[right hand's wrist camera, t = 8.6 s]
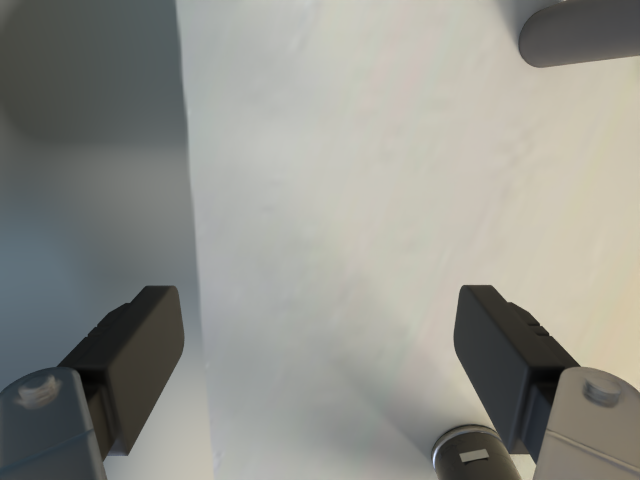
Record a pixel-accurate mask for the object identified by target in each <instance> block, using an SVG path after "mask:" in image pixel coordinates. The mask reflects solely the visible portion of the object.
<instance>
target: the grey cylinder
mask: <svg viewBox="0 0 640 480" xmlns="http://www.w3.org/2000/svg"><path fill="white" fill-rule="evenodd" d="M519 49H520V53H521V55H522V57H523V59H524V60H525V61H526V62H527V63H528V64H530V65H531V66H534V67H539V68H543V67H551V66H559V65H567V64H575V63H583V62H591V61H600V60H608V59H616V58H624V57H632V56H640V0H566V1H564V2H561V3H558V4H556V5H553V6H551V7H548V8H545V9H543V10H540V11H538V12H537V13H535V14H534V15H533V16H531V17H530V18H529V20H528V21H527V22H526V23H525V25H524V27H523V29H522V31H521V34H520V38H519Z"/></svg>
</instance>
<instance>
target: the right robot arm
mask: <svg viewBox="0 0 640 480" xmlns="http://www.w3.org/2000/svg"><path fill="white" fill-rule="evenodd" d="M183 347H184V329H183V322H182V315H181V308H180V301H179V294H178V290H177V288H176V287H175V286H145V287H144V288H143V289H142V291H141V292H140V293H139V294H138V295H137V296H136V297H135V298H134V299H133V300H132V301H131V303H125V304H123V305H122V306H120V307H118V308H117V309H115V310H113V311H111V312H109V313H108V314H107V315H106V316H105V317H104V318H103V319H102V320H101V321H100V322H99V323H98V325H97V327H95V328H94V329H93V330H92V331H91V332H90V333H89V334H88V337H85V338H84V339H83V340H82V341H81V342H80V343H79V344H78V345H77V346H76V347H75V348H74V349H73V350H72V351H71V352H70V353H69V354H68V355H67V356H66V357H65V358H64V359H63V361H61V363H60V364H59V365H58V366H57V367H52V368H46V369H42V370H39V371H36V372H33V373H30V374H28V375H26V376H23V377H21V378H20V379H18V380H16V381H14V382H13V383H11V384H10V385H9V386H7V387H6V388H5V389H4V390H3V391H2V392H1V393H0V480H107V476H106V473H105V469H104V465H103V461H104V460H105V458H106V456H128V455H129V453H130V451H131V449H132V447H133V445H134V443H135V441H136V440H137V438H138V436H139V434H140V432H141V430H142V428H143V426H144V424H145V423H146V421H147V419H148V417H149V415H150V413H151V411H152V410H153V408H154V406H155V404H156V402H157V400H158V398H159V396H160V395H161V393H162V391H163V389H164V387H165V385H166V383H167V381H168V380H169V378H170V376H171V374H172V372H173V370H174V368H175V366H176V365H177V363H178V361H179V359H180V357H181V355H182V352H183ZM454 347H455V351H456V354H457V356H458V358H459V360H460V362H461V364H462V366H463V368H464V370H465V372H466V374H467V375H468V377H469V379H470V381H471V383H472V385H473V387H474V389H475V391H476V393H477V394H478V396H479V398H480V400H481V402H482V404H483V406H484V408H485V410H486V412H487V413H488V415H489V417H490V419H491V421H492V423H493V425H494V427H495V429H496V431H497V432H498V434H499V435H498V434H497V433H496V432H494V431H493V430H491V429H489V428H486V427H482V426H463V427H459V428H456V429H453V430H451V431H449V432H448V433H446V434H444V435H443V436H442V437H441V438H440V439H439V440H438V441H437V442H436V444H435V445H434V447H433V450H432V455H431V458H432V463H433V466H434V469H435V471H436V473H437V476H438V479H439V480H522V478H521V477H520V475H519V473H518V471H517V469H516V467H515V465H514V463H513V461H512V459H511V457H510V455H509V454H530V455H531V457H532V459H533V461H534V462H535V464H536V469H535V473H534V476H533V480H640V393H639V392H638V391H637V390H636V389H635V388H634V387H633V386H632V385H630V384H629V383H627V382H626V381H624V380H622V379H620V378H619V377H617V376H614V375H612V374H610V373H607V372H604V371H601V370H598V369H594V368H588V367H581V366H580V365H579V364H578V363H577V362H576V361H575V360H574V359H573V358H572V357H571V356H570V355H569V354H568V352H567V351H566V350H565V349H564V348H563V347H562V346H561V345H560V344H559V343H558V342H557V341H556V340H555V339H554V338H553V337H552V336H549V333H548V332H547V331H546V330H545V329H544V328H543V327H542V326H540V323H539V322H538V321H537V320H536V319H535V318H534V317H533V316H532V315H531V314H530V313H529V312H527V311H526V310H524V309H522V308H521V307H519V306H517V305H515V304H514V303H512V302H507V301H506V300H505V299H504V298H503V297H502V296H501V295H500V294H499V293H498V291H497V290H496V289H495V288H494V287H493V286H491V285H463V286H462V287H461V289H460V293H459V299H458V306H457V313H456V320H455V328H454ZM507 451H508V452H507Z"/></svg>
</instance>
